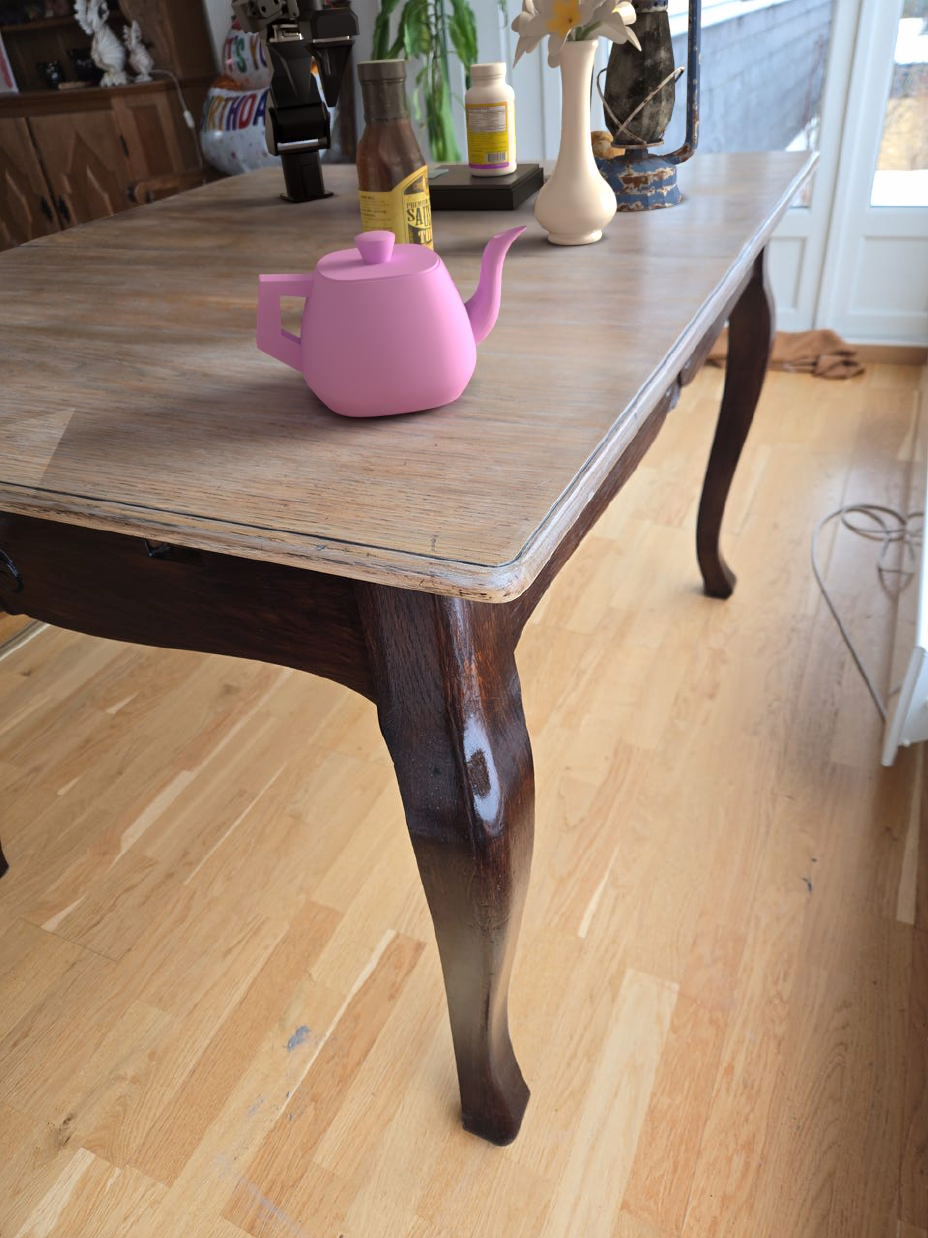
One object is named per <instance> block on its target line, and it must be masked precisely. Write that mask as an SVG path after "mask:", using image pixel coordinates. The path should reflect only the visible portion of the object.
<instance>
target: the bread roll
mask: <svg viewBox="0 0 928 1238" xmlns="http://www.w3.org/2000/svg"><path fill="white" fill-rule="evenodd" d="M612 141H613V136H612V135H611V133H610V132H609V131H606V130H593V131H592V130H591V145H592V152H593V154H594V155H596V156H598V157H601V158H607V159H610V158H614V157H615V156H618V155H623V154H625V150H626V149H618V148H613V147H611V145H610V144H611V142H612Z"/></svg>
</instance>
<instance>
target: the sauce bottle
mask: <svg viewBox="0 0 928 1238" xmlns="http://www.w3.org/2000/svg"><path fill="white" fill-rule="evenodd" d="M356 71H357V80H358V83H359V85H360V88H361V96H362V107H363V120H364V123H365V126H364V129H363V133H362V135H361V138H360V140H359V141H358V143H357V144H358V145H357V150H356V154H355V157H356V158H355V165H356V172H357V179H358V187H357V192H358V200H359V208H360V216H361V226H362V233H364V232H370V231H389V232H392V233H394V234H395V241H394V244H408V243H409V244H419V245H423V246H426V247H428V248H430V249H432V250H433V251H434V240H433V228H432V213H431V210H430V200H429V188H428V174H427V173H428V165H427V161H426V159H425V156H424V154H423V151H422V149H421V146H420V144H419V142H418V139H417V137H416V134H415V131H414V129H413V125H412V124H411V121H410V113H409V111H408V100H407V88H406V87H407V86H406V81H407V77H408V76H407V75H408V73H407V66H406V60H405V59H404V58H389V59H375V60H367V61H359V62H357V63H356Z"/></svg>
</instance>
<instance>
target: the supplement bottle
mask: <svg viewBox="0 0 928 1238" xmlns="http://www.w3.org/2000/svg"><path fill="white" fill-rule="evenodd" d="M506 63H507V62H505V61H496V62H482V63H481V62H480V63H475V64H471V65H470V66H469V70H470V71H469V72H470V73H469V75H470V77H471V80H472V86H471V87H469V88H468V89H467V90H466V91H465V93H464V111H465V125H466V126H465V128H466V143H467V144H466V145H467V146H466V147H467V162H468V165H469V171H470V173H471V174H472V175H474V176H479V177H494V176H502V175H506V174H510V173H512V172H514V171H515V170H516V164H517V139H516V138H517V137H516V104H515V103H516V102H515V91H514V89H513V87H512V86H510V85H509V84H507V83H506V73H507V64H506Z"/></svg>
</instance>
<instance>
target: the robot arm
mask: <svg viewBox="0 0 928 1238" xmlns="http://www.w3.org/2000/svg"><path fill="white" fill-rule="evenodd" d="M230 6H231V8H232V11H233V13H234V14H235V17H236V19H237V21H238V23H239V25H240V28H241V29H242V31H243V33H244V34H245V35H247V34H248V33H251V34H252V35H255V34H258V39H259V41H260V44H261V48H262V52H263V57H264V59H265V63H266V67H267V70H268V75H269V78H270V84H269V87H268V93H267V98H266V103H265V111H264V112H265V113H264V116H265V117H264V141H265V144H266V148H267V152H268V154H269V155H271V156H273V157H275V158H276V157H279V156H280V161H281V166H282V167H281V168H282V173H283V179H284V185H285V192H280V193H278V195H279V198H281V199H284V200H287V201H290V202H291V203H292V202H293V203H300V202H306V201H311V200H312V201H313V200H317V199H321V198H322V199H323V198H327V197H328V198H329V197H333V196H335V193H334V191H331V190H329V189H326V188H325V182H324V175H323V169H322V161H321V155H320V151H323V150H331V148H332V136H331V135H332V133H331V121H332V119H331V118H332V115H331V112H330V111H329V110H328V109H330V108H335V107H336V106H337V104H338V100H339V96H340V91H341V88H342V83H343V81H344V76H345V72H346V70H347V69H346V68H347V66H348V61H349V58H350V55H351V52H352V49H353V45H356V39H355V38H350V37H354V36H356V37H357V36H360V35H361V33H360V24H359V16H358V15H357V14H356V13H355V11H353V9H352V8H351V7H349V6H348V7H335V8H334V7H333V4H332V3H327V2H326V0H236V1H234V2H232V3H231V5H230ZM313 59H314V61H315V66H316V69H317V74H318V78H319V82H320V86H321V90H322V94H323V98H324V101H323V99H322V96H321V94H320V89H319V86H318V81H317V78H316V76H315V74H314V73H313V72H312V66H313V65H312V64H313ZM316 140H317V141H316ZM307 141H309V142H307ZM300 142H301V143H300ZM292 143H294V144H292ZM279 144H282V145H279Z"/></svg>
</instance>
